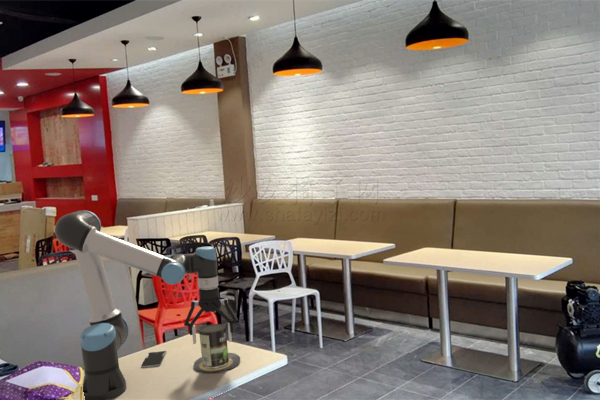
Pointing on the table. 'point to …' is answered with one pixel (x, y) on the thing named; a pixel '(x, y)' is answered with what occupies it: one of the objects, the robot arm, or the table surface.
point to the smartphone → (154, 359)
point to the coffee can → (214, 346)
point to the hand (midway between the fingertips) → (212, 341)
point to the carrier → (233, 362)
